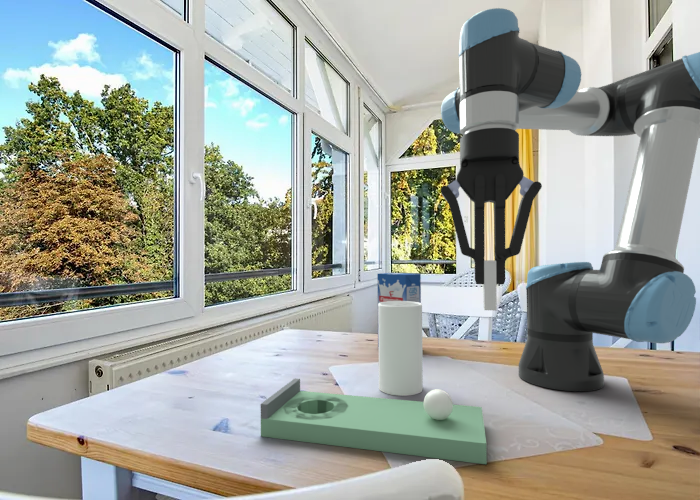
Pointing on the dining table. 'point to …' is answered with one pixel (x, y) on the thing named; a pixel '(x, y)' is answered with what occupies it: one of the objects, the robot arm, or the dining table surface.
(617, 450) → the dining table surface
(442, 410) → the ball
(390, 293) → the milk carton
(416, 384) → the cup
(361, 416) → the green
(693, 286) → the robot arm
